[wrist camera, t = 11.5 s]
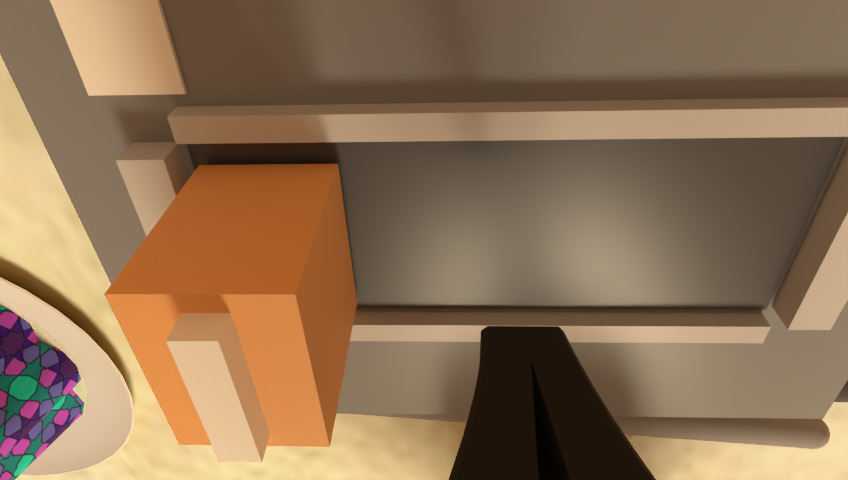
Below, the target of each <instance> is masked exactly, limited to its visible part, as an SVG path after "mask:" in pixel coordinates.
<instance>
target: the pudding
mask: <svg viewBox="0 0 848 480" xmlns="http://www.w3.org/2000/svg"><path fill="white" fill-rule="evenodd" d="M0 304H1V305H3V306H5V307H7V308H9V309H11V310H13V311H14V312H16V313H18V314H19V315H21V316H23V317H24V318H26V319H28V320H29V321H31V322H32V323H34V324H35V325H36V326H38V327H39V328H40V329H42V330H43V331H44V332H46V333H47V334H48V335H49V336H51V337H52V338H53V339H54V340H55V341H56V342H57V343H58V344H59V345H60V346H61V347H62V348H63V349H64V350H65V351H66V352H67V353H68V354H69V356H70V357H71V358H72V360H73V361H74V362H75V363H76V365H77V366H78V368H79V370H80V372H81V374H82V376H83V378H84V380H85V384H86V388H87V392H88V397H87V406H86V408H85V411H84V414H83V406H84V402H83V401H82V400H81V399H80V398H79V397H78V395H77V394H76V393H75V392H74V391H73V390H72V388H73V387H74V386H75V385H76V384H77V383H78V382H79V381H80V380H81V378H80V375H79V372H78V369H77V367H76V365H75V364H74V363H73V362H72V361H71V360H70V359H69V358H68V357H67V356H66V355H65V353H64V352H62V351H60V350H58V349H56V348H53V347H51V346H49V345H47V344H44V343H42V342H40V341H39V340H38V338H37V337H36V335H35V333H34V331H33V329H32V327H31V325H30V324H29V323H28V322H26V321H25V320H24V319H22V318H21V317H19V316H18V315H17V314H15V313H14V312H12V311H11V310H9V309H6V308H4V307H1V306H0V480H15V479H16V478H17V477H18V476H19V475H20V474H21V475H51V474H64V473H69V472H75V471H80V470H84V469H87V468H90V467H93V466H95V465H98V464H101V463H102V462H104V461H106V460H108V459H109V458H111V457H113V456H114V455H116V454H117V453H118V452H119V451H120V450H121V448H122V447H123V446H124V445H125V444H126V443H127V441H128V439H129V437H130V435H131V433H132V431H133V426H134V418H135V411H134V406H133V400H132V395H131V393H130V391H129V389H128V387H127V384H126V382H125V380H124V378H123V376H122V374H121V373H120V371H119V370H118V369H117V367H116V366H115V365H114V363H113V362H112V360H111V359H110V358H109V356H108V355H107V354H106V353H105V352H104V351H103V350H102V349H101V348H100V346H99V345H98V344H97V343H96V342H95V341H94V340H93V339H92V338H91V337H90V336H89V335H88V334H87V333H86V332H85V331H83V330H82V329H81V328H80V327H78V326H77V325H76V324H75V323H73V322H72V321H71V320H69V319H68V318H67V317H66V316H64V315H63V314H62V313H61V312H59V311H58V310H57V309H55V308H53V307H52V306H50V305H49V304H47V303H45V302H44V301H42V300H41V299H39V298H38V297H36V296H34V295H33V294H31V293H30V292H28V291H27V290H25V289H23V288H21V287H19V286H17V285H15V284H13V283H11V282H9V281H7V280H5V279H3V278H1V277H0ZM82 414H83V415H82ZM81 415H82V416H81ZM80 416H81V417H80ZM79 417H80V419H79V420H78V421H77V422H76V423H75V424H73V425H72V426H70V425H71V424H72V423H73V422H74V421H75V420H76V419H78V418H79ZM69 426H70V427H69ZM68 427H69V428H68Z"/></svg>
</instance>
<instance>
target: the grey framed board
mask: <svg viewBox="0 0 848 480" xmlns="http://www.w3.org/2000/svg"><path fill="white" fill-rule="evenodd" d="M0 54H1V56H2V58H3V60H4V62H5V64H6V67H7V69H8V71H9V73H10V75H11V77H12V79H13V81H14V83H15V85H16V87H17V89H18V91H19V94H20V96H21V98H22V100H23V102H24V104H25V106H26V108H27V110H28V112H29V114H30V116H31V118H32V120H33V123H34V125H35V127H36V129H37V131H38V133H39V135H40V137H41V139H42V141H43V143H44V145H45V147H46V149H47V152H48V154H49V156H50V158H51V160H52V162H53V164H54V166H55V168H56V170H57V172H58V174H59V176H60V179H61V181H62V183H63V185H64V187H65V189H66V191H67V193H68V195H69V197H70V199H71V201H72V203H73V205H74V208H75V210H76V212H77V214H78V216H79V218H80V220H81V222H82V224H83V226H84V228H85V230H86V232H87V234H88V237H89V239H90V241H91V243H92V245H93V247H94V249H95V251H96V253H97V255H98V257H99V259H100V261H101V263H102V266H103V268H104V270H105V272H106V274H107V276H108V278H109V280H110V282H111V284H112V283H113V282H114V280H115V279H116V278H117V276H118V275H119V274H120V272H121V271H122V270H123V268H124V267H125V265H126V264H127V263H128V261H129V260H130V259H131V257H132V256H133V255H134V253H135V252H136V250H137V249H138V248H139V246H140V245H141V244H142V242H143V241H144V240H145V238H146V237H147V235H148V234H149V233H150V231H151V230H152V229H153V227H154V226H155V225H156V223H157V222H158V220H159V219H160V218H161V216H162V215H163V214H164V212H165V211H166V210H167V208H168V207H169V205H170V204H171V203H172V201H173V200H174V199H175V197H176V196H177V195H178V193H179V192H180V190H181V189H182V188H183V186H184V185H185V184H186V182H187V181H188V180H189V178H190V177H191V175H192V174H193V173H194V171H195V170H196V169H197V167H198V166H199V165H252V164H338V167H339V174H340V181H341V188H342V196H343V203H344V210H345V218H346V225H347V232H348V239H349V247H350V254H351V261H352V268H353V276H354V283H355V290H356V297H357V306H356V312H355V317H354V322H353V327H352V332H351V338H350V343H349V348H348V353H347V359H346V364H345V369H344V374H343V380H342V385H341V390H340V395H339V400H338V406H337V411H336V413H356V414H442V415H469V412H470V408H471V404H472V400H473V396H474V392H475V387H476V382H477V377H478V371H479V362H480V339H481V330H483V329H484V328H486V327H487V326H558V327H560V328H561V329H562V330H563V331H564V333H565V335H566V337H567V339H568V341H569V343H570V345H571V347H572V349H573V351H574V353H575V354H576V356H577V358H578V360H579V362H580V364H581V365H582V367H583V369H584V371H585V373H586V374H587V376H588V378H589V379H590V381H591V383H592V384H593V386H594V388H595V389H596V391H597V393H598V394H599V396H600V398H601V399H602V401H603V403H604V404H605V406H606V407H607V409H608V411H609V412H610V414H611V415H612V416H613V417H699V418H784V419H823V417H824V416H825V414H826V413H827V411H828V410H829V408H830V407H831V405H832V404H833V402H834V400H835V399H836V397H837V396H838V394H839V393H840V391H841V390H842V388H843V387H844V385H845V384H846V382H847V380H848V0H0Z"/></svg>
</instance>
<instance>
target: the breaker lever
mask: <svg viewBox="0 0 848 480" xmlns="http://www.w3.org/2000/svg"><path fill="white" fill-rule="evenodd" d="M105 296H106V298H107V300H108V302H109V304H110V306H111V308H112V310H113V312H114V314H115V316H116V318H117V320H118V322H119V324H120V326H121V328H122V330H123V332H124V334H125V336H126V338H127V340H128V342H129V344H130V346H131V348H132V350H133V352H134V354H135V356H136V358H137V360H138V362H139V364H140V366H141V368H142V370H143V372H144V374H145V376H146V378H147V380H148V382H149V384H150V386H151V388H152V390H153V392H154V394H155V396H156V398H157V400H158V402H159V404H160V406H161V408H162V410H163V412H164V414H165V416H166V418H167V420H168V422H169V424H170V426H171V428H172V430H173V432H174V434H175V436H176V438H177V440H178V442H179V444H182V445H212V447H213V449H214V451H215V454H216V456H217V458H218V460H219V462H262V460H263V457H264V453H265V450H266V446H320V447H330V442H331V437H332V432H333V427H334V421H335V416H336V411H337V406H338V400H339V395H340V390H341V385H342V380H343V374H344V369H345V364H346V359H347V353H348V348H349V343H350V338H351V332H352V327H353V322H354V317H355V312H356V306H357V297H356V290H355V283H354V276H353V268H352V261H351V254H350V247H349V239H348V232H347V225H346V218H345V210H344V203H343V196H342V188H341V181H340V174H339V167H338V164H252V165H199V166H198V167H197V169H196V170H195V171H194V173H193V174H192V175H191V177H190V178H189V180H188V181H187V182H186V184H185V185H184V186H183V188H182V189H181V190H180V192H179V193H178V195H177V196H176V197H175V199H174V200H173V201H172V203H171V204H170V205H169V207H168V208H167V210H166V211H165V212H164V214H163V215H162V216H161V218H160V219H159V220H158V222H157V223H156V225H155V226H154V227H153V229H152V230H151V231H150V233H149V234H148V235H147V237H146V238H145V240H144V241H143V242H142V244H141V245H140V246H139V248H138V249H137V250H136V252H135V253H134V255H133V256H132V257H131V259H130V260H129V261H128V263H127V264H126V265H125V267H124V268H123V270H122V271H121V272H120V274H119V275H118V276H117V278H116V279H115V280H114V282H113V283H112V285H111V286H110V287H109V289H108V290H107V291H106V293H105Z"/></svg>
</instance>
